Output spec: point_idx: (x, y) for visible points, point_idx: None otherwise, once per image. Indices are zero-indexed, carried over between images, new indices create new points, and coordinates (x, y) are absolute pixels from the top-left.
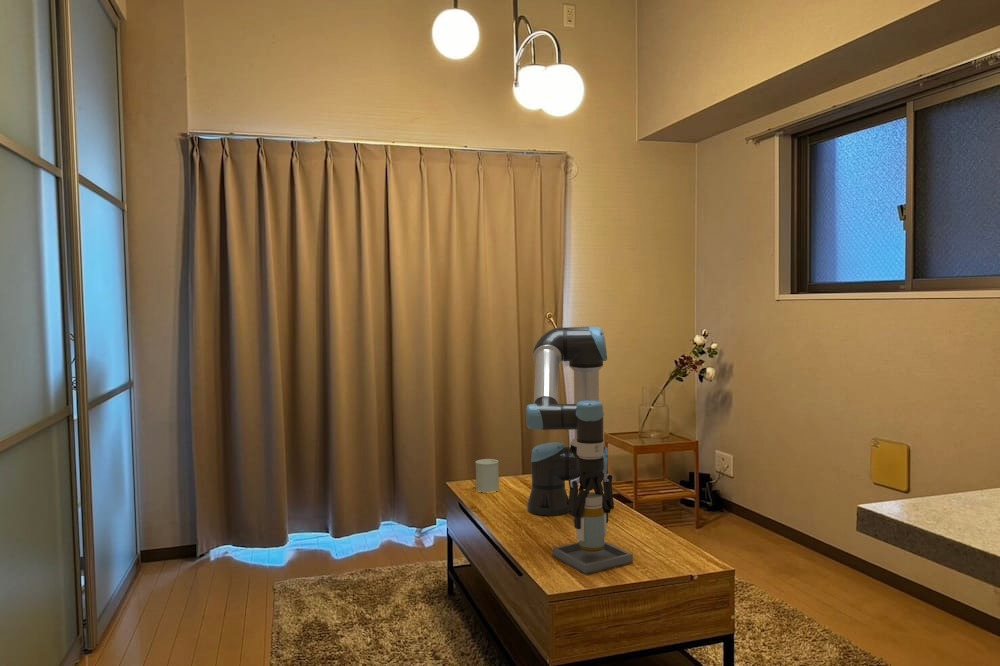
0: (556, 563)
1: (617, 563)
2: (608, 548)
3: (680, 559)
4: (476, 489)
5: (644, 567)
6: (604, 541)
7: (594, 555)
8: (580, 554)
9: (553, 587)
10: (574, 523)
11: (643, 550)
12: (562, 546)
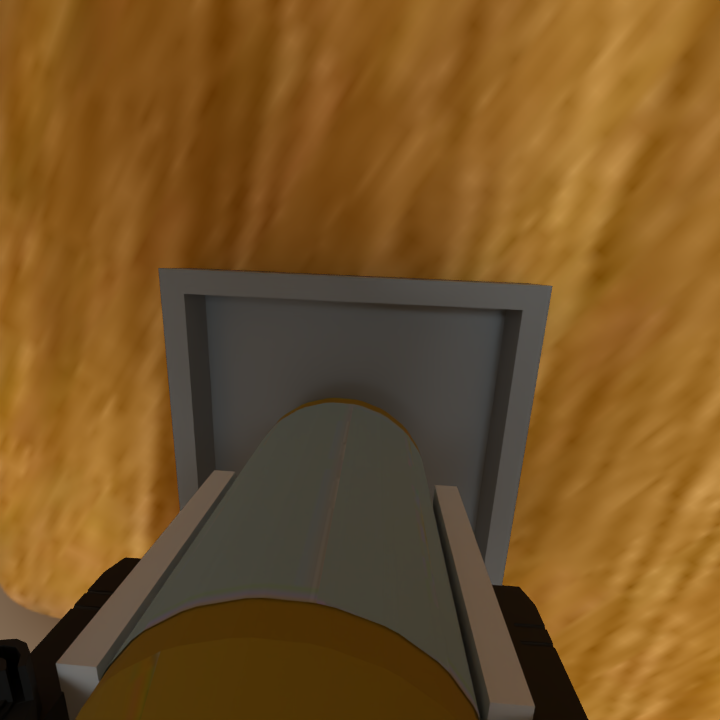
0: (159, 364)
1: None
2: (497, 425)
3: (701, 654)
4: None
5: None
6: (535, 370)
7: None
8: (325, 362)
9: (24, 564)
10: (78, 604)
11: (679, 484)
12: (233, 283)
